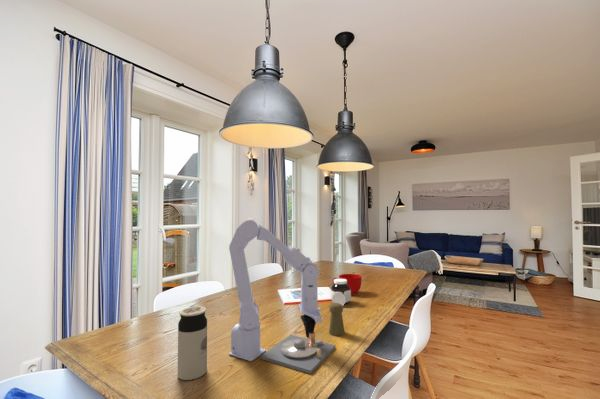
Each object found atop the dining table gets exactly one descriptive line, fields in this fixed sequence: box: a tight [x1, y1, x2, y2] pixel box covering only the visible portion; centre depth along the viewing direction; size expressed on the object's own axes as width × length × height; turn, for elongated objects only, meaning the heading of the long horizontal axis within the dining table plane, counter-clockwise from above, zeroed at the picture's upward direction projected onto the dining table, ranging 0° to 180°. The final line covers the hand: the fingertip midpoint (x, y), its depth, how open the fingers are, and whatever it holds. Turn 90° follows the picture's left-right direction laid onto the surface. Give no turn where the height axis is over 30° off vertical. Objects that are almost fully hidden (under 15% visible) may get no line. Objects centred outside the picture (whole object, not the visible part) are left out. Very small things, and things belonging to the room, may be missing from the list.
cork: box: [328, 302, 346, 337], centre depth 109 cm, size 6×6×11 cm
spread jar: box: [330, 278, 352, 306], centre depth 144 cm, size 12×11×12 cm
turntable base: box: [260, 334, 336, 375], centre depth 92 cm, size 18×18×4 cm
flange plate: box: [281, 331, 324, 359], centre depth 93 cm, size 12×15×4 cm
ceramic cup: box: [331, 273, 363, 296], centre depth 163 cm, size 13×17×10 cm
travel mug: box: [177, 305, 208, 381], centre depth 82 cm, size 8×8×18 cm
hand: (309, 336), depth 96 cm, fingers closed, pressing on flange plate
